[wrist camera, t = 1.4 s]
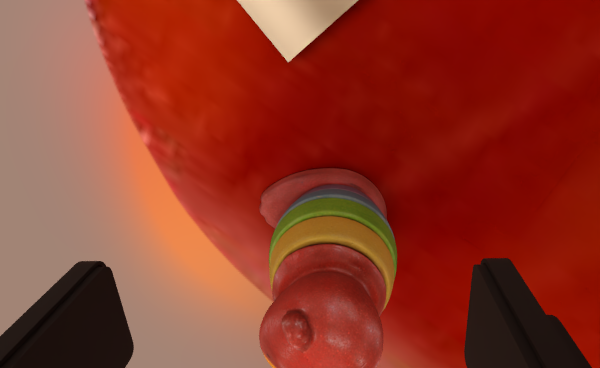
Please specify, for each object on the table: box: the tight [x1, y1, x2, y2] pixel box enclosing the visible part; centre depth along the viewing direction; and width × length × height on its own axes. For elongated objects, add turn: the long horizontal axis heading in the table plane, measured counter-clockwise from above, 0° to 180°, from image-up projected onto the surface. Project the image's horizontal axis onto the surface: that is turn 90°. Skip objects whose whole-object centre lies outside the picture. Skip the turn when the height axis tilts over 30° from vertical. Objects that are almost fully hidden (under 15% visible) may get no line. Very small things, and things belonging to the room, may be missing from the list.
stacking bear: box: [259, 168, 397, 368], centre depth 29 cm, size 11×10×18 cm
